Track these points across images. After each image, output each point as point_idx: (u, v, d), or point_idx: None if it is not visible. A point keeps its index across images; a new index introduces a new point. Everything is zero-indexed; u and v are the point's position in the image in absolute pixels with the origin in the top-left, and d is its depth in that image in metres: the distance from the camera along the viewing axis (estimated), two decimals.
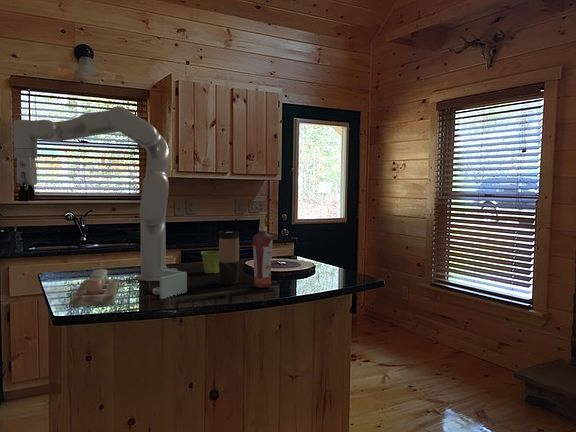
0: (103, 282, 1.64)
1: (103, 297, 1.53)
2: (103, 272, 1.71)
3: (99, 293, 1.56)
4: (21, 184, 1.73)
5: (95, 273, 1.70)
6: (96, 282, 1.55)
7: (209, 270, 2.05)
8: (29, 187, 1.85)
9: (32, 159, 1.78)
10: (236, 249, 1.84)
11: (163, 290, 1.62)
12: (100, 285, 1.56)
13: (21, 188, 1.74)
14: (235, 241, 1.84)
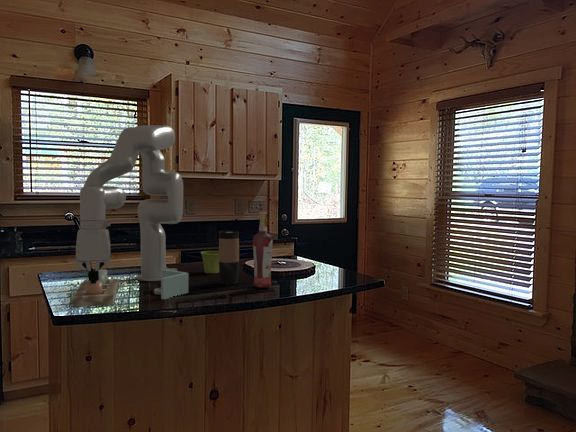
0: (103, 282, 1.64)
1: (103, 297, 1.53)
2: (103, 272, 1.71)
3: None
4: None
5: None
6: (96, 285, 1.55)
7: (209, 270, 2.05)
8: (91, 268, 1.56)
9: None
10: (236, 249, 1.84)
11: (164, 291, 1.62)
12: (100, 288, 1.56)
13: None
14: (235, 241, 1.84)
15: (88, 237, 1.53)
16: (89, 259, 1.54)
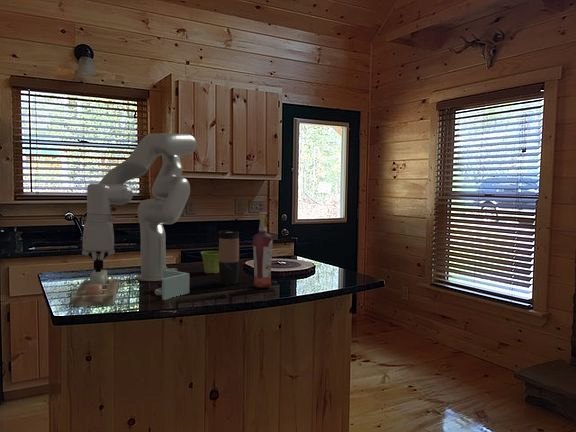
0: (103, 282, 1.64)
1: (103, 297, 1.53)
2: (103, 272, 1.71)
3: None
4: None
5: (95, 273, 1.70)
6: (96, 288, 1.55)
7: (209, 270, 2.05)
8: (96, 257, 1.71)
9: None
10: (236, 249, 1.84)
11: (165, 291, 1.61)
12: (100, 291, 1.56)
13: (104, 257, 1.72)
14: (235, 241, 1.84)
15: (94, 229, 1.68)
16: (95, 249, 1.69)
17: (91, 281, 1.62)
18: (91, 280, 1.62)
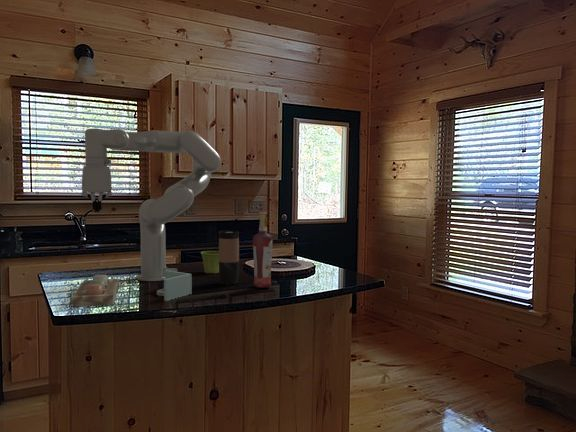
0: (103, 287, 1.64)
1: (103, 297, 1.53)
2: (103, 277, 1.71)
3: None
4: (106, 196, 1.83)
5: (95, 278, 1.70)
6: (96, 288, 1.55)
7: (209, 270, 2.05)
8: (95, 199, 1.82)
9: None
10: (236, 249, 1.84)
11: (167, 292, 1.60)
12: (100, 291, 1.56)
13: (102, 199, 1.83)
14: (235, 241, 1.84)
15: (92, 171, 1.79)
16: (93, 191, 1.80)
17: None
18: None
